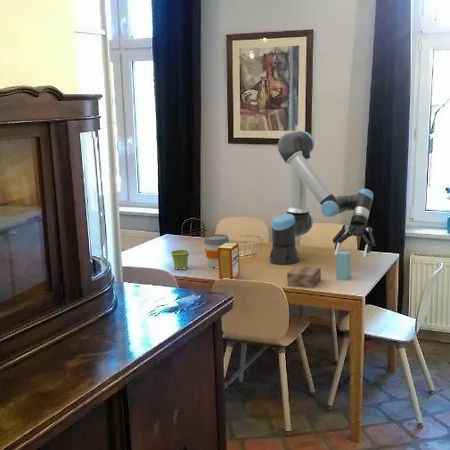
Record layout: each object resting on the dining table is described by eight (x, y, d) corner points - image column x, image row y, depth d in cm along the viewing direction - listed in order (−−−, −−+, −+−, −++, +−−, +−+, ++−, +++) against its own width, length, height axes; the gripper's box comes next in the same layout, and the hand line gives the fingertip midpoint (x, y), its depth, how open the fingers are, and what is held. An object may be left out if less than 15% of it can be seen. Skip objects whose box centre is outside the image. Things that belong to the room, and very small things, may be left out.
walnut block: (287, 286, 286) (287, 273, 284) (295, 278, 296) (295, 266, 295) (313, 288, 281) (313, 275, 280) (320, 280, 292) (320, 268, 290)
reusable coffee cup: (201, 268, 320) (200, 239, 317) (210, 261, 331) (209, 233, 328) (225, 269, 316) (223, 240, 313) (233, 263, 327) (232, 234, 324)
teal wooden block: (336, 279, 292) (336, 253, 289) (340, 276, 296) (340, 251, 294) (347, 280, 289) (346, 254, 287) (350, 277, 294) (350, 252, 291)
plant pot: (193, 266, 324) (192, 249, 323) (186, 271, 316) (185, 254, 314) (176, 265, 328) (175, 249, 326) (168, 270, 319) (167, 253, 317)
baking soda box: (232, 280, 297) (230, 247, 293) (219, 279, 299) (217, 246, 296) (239, 275, 305) (238, 242, 302) (227, 274, 308) (225, 242, 304)
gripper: (387, 224, 300) (378, 263, 290) (336, 221, 312) (326, 258, 303) (384, 215, 294) (375, 254, 285) (332, 212, 306) (322, 250, 297)
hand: (350, 257), depth 294 cm, fingers open, 13 cm apart
